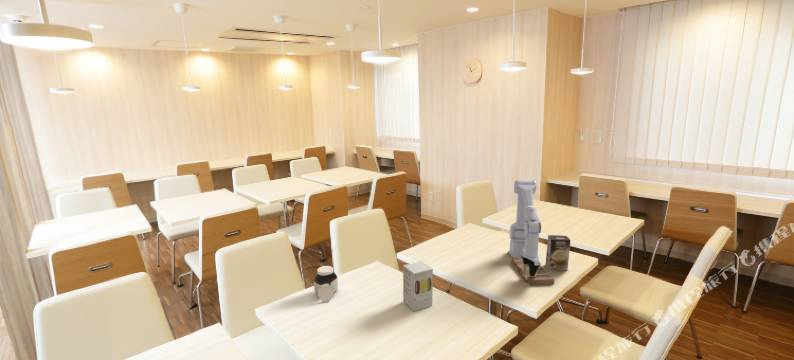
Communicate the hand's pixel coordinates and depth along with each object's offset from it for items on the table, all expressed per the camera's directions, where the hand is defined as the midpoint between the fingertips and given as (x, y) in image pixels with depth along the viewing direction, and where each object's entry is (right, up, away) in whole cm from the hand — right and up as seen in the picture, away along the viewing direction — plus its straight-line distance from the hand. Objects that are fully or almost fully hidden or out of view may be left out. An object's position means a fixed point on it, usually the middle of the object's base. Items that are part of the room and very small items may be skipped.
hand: (529, 273), depth 177 cm
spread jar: (-93, -8, -9) cm, 94 cm away
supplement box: (-53, -9, -17) cm, 57 cm away
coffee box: (+18, -1, +13) cm, 22 cm away
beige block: (+1, -2, +1) cm, 3 cm away
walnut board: (+3, -2, +8) cm, 9 cm away
